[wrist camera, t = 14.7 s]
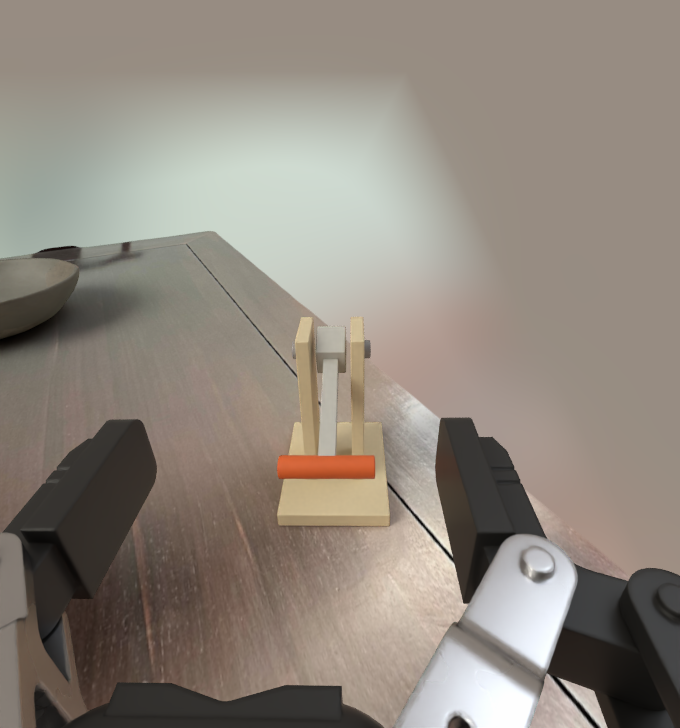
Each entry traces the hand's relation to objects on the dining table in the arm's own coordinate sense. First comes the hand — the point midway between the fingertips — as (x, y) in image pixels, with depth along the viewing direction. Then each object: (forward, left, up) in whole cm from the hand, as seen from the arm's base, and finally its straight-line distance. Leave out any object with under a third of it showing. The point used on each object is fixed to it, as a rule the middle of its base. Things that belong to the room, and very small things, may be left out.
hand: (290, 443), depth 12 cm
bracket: (0, -21, -21) cm, 29 cm away
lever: (0, -16, -11) cm, 20 cm away
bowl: (+56, -53, -21) cm, 80 cm away
